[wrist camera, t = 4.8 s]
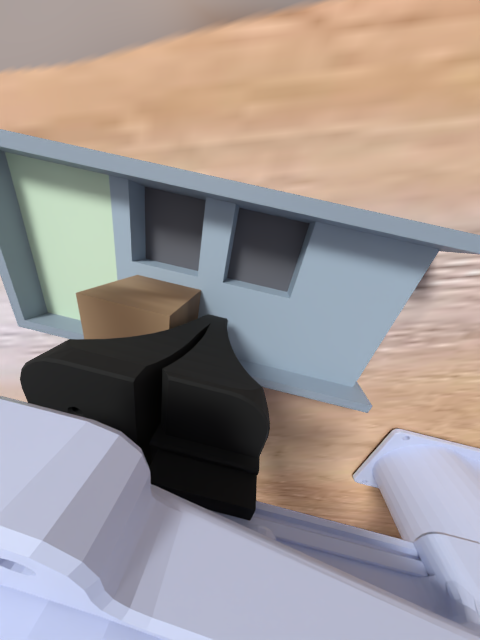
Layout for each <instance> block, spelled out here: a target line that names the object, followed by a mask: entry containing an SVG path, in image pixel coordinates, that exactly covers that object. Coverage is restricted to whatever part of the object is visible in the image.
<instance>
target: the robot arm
mask: <svg viewBox="0 0 480 640" xmlns="http://www.w3.org/2000/svg"><path fill="white" fill-rule="evenodd" d="M227 324H228V320H227V318H223V317H218V316H214V315H210V314H207V315H205V316H202V317H200V318H198V319H195V320H193V321H191V322H188V323H186V324H183V325H180V326H177V327H175V328H172V329H168V330H164V331H160V332H156V333H151V334H145V335H139V336H132V337H123V338H110V339H69V340H67V341H65V342H64V343H62V344H60V345H58V346H56V347H54V348H52V349H51V350H49V351H47V352H45V353H43V354H41V355H39V356H37V357H36V358H34V359H32V360H30V361H28V362H26V364H25V365H24V366H23V368H22V370H21V377H20V381H21V385H22V389H23V391H24V394H25V396H26V399H27V401H28V403H26V402H23V401H19V400H15V399H11V398H7V397H3V396H0V640H480V449H479V448H475V447H471V446H467V445H463V444H459V443H455V442H451V441H447V440H443V439H439V438H435V437H431V436H427V435H423V434H419V433H415V432H411V431H407V430H403V429H394V430H392V431H391V432H390V433H389V435H388V436H387V437H386V438H385V439H384V440H383V441H382V443H381V444H380V445H379V446H378V447H377V448H376V449H375V451H374V452H373V453H372V454H371V455H370V456H369V457H368V459H367V460H366V461H365V462H364V463H363V464H362V465H361V467H360V468H359V469H358V470H357V471H356V472H355V473H354V475H353V478H354V481H355V482H357V483H361V484H365V485H369V486H372V487H376V488H379V489H380V492H381V494H382V496H383V498H384V500H385V503H386V505H387V507H388V509H389V511H390V514H391V516H392V518H393V520H394V522H395V525H396V527H397V529H398V531H399V533H400V536H401V538H402V539H399V538H395V537H391V536H388V535H384V534H380V533H376V532H372V531H369V530H365V529H361V528H357V527H353V526H350V525H346V524H342V523H338V522H334V521H331V520H327V519H323V518H319V517H315V516H312V515H308V514H304V513H300V512H296V511H293V510H289V509H285V508H281V507H277V506H274V505H270V504H266V503H262V502H258V501H256V482H257V475H258V473H259V456H260V454H261V451H262V449H263V447H264V445H265V442H266V440H267V438H268V434H269V430H270V421H269V413H268V407H267V402H266V398H265V394H264V390H263V388H262V386H261V385H260V384H259V383H258V382H256V381H255V380H254V379H253V378H252V377H251V376H250V375H249V374H248V372H247V371H246V370H245V369H244V368H243V366H242V365H241V363H240V362H239V360H238V359H237V357H236V355H235V353H234V351H233V349H232V346H231V343H230V340H229V337H228V331H227Z"/></svg>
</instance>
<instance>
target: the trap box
mask: <svg viewBox="0 0 480 640" xmlns="http://www.w3.org/2000/svg"><path fill="white" fill-rule="evenodd" d="M439 251H445V252H457V253H469V254H480V235H476V234H471V233H467V232H462V231H458V230H453V229H449V228H444V227H440V226H435V225H431V224H426V223H422V222H417V221H413V220H408V219H404V218H399V217H395V216H390V215H386V214H381V213H377V212H372V211H368V210H363V209H359V208H354V207H349V206H345V205H340V204H336V203H331V202H327V201H322V200H318V199H313V198H309V197H304V196H300V195H295V194H291V193H286V192H282V191H277V190H273V189H268V188H264V187H259V186H255V185H250V184H246V183H241V182H237V181H232V180H228V179H223V178H218V177H214V176H209V175H205V174H200V173H196V172H191V171H187V170H182V169H178V168H173V167H169V166H164V165H160V164H155V163H151V162H146V161H142V160H137V159H133V158H128V157H124V156H119V155H115V154H110V153H106V152H101V151H96V150H92V149H87V148H83V147H78V146H74V145H69V144H65V143H60V142H56V141H51V140H47V139H42V138H38V137H33V136H29V135H24V134H20V133H15V132H11V131H6V130H2V129H0V275H1V278H2V281H3V284H4V287H5V289H6V292H7V295H8V298H9V301H10V303H11V306H12V309H13V312H14V315H15V318H16V320H17V323H18V326H19V327H23V328H27V329H32V330H36V331H40V332H44V333H48V334H52V335H56V336H60V337H64V338H68V339H84V335H83V330H82V324H81V319H80V314H79V308H78V303H77V298H76V293H77V292H80V291H84V290H87V289H90V288H94V287H97V286H101V285H104V284H107V283H111V282H114V281H117V280H121V279H124V278H128V277H131V276H134V275H141V276H145V277H149V278H153V279H157V280H162V281H166V282H170V283H174V284H178V285H182V286H187V287H191V288H195V289H199V290H201V296H200V304H199V313H198V318H200V317H202V316H205V315H207V314H210V315H214V316H218V317H223V318H227V320H228V324H227V331H228V337H229V340H230V343H231V346H232V349H233V351H234V353H235V355H236V357H237V359H238V360H239V362H240V363H241V365H242V366H243V368H244V369H245V370H246V371H247V372H248V374H249V375H250V376H251V377H252V378H253V379H254V380H255V381H256V382H258V383H259V384H260V385H261V386H262V387H265V388H269V389H273V390H277V391H282V392H286V393H290V394H294V395H298V396H302V397H306V398H310V399H314V400H318V401H322V402H326V403H330V404H334V405H338V406H342V407H346V408H350V409H354V410H358V411H362V412H366V413H368V412H369V410H370V409H371V408H372V405H371V403H370V402H369V400H368V399H367V397H366V395H365V394H364V392H363V391H362V389H361V388H360V386H359V384H358V383H357V380H358V378H359V377H360V375H361V373H362V372H363V370H364V369H365V367H366V366H367V364H368V362H369V361H370V359H371V358H372V356H373V354H374V353H375V351H376V350H377V348H378V347H379V345H380V343H381V342H382V340H383V339H384V337H385V335H386V334H387V332H388V331H389V329H390V328H391V326H392V324H393V323H394V321H395V320H396V318H397V317H398V315H399V313H400V312H401V310H402V309H403V307H404V305H405V304H406V302H407V301H408V299H409V298H410V296H411V294H412V293H413V291H414V290H415V288H416V286H417V285H418V283H419V282H420V280H421V279H422V277H423V275H424V274H425V272H426V271H427V269H428V267H429V266H430V264H431V263H432V261H433V260H434V258H435V256H436V255H437V253H438V252H439Z"/></svg>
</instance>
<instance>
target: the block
mask: <svg viewBox="0 0 480 640" xmlns="http://www.w3.org/2000/svg"><path fill="white" fill-rule="evenodd" d="M200 296H201V290H199V289H195V288H191V287H187V286H182V285H178V284H174V283H170V282H166V281H162V280H157V279H153V278H149V277H145V276H141V275H134V276H131V277H128V278H124V279H121V280H117V281H114V282H111V283H107V284H104V285H101V286H97V287H94V288H90V289H87V290H84V291H80V292H77V293H76V298H77V303H78V308H79V314H80V319H81V324H82V330H83V335H84V339H110V338H123V337H132V336H139V335H145V334H151V333H156V332H160V331H164V330H168V329H172V328H175V327H177V326H180V325H183V324H186V323H188V322H191V321H193V320H195V319H198V313H199V304H200Z"/></svg>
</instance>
